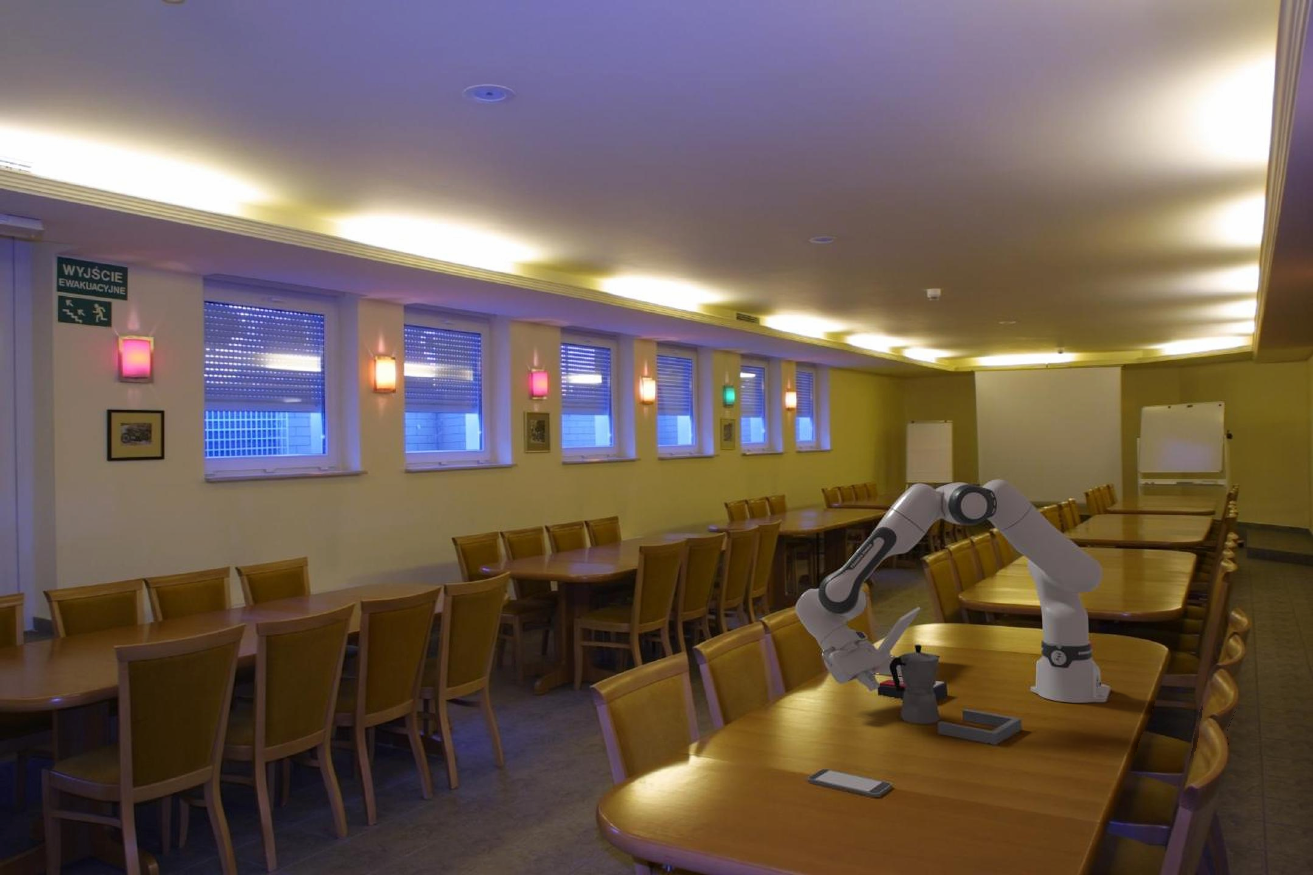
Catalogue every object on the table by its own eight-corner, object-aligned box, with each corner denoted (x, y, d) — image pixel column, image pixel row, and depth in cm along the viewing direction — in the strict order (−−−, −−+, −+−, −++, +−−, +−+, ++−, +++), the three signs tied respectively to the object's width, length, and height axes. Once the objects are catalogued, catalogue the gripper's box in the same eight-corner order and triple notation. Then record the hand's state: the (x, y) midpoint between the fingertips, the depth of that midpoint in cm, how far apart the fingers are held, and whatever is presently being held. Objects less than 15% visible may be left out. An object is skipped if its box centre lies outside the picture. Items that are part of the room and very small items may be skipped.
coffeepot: (927, 710, 227) (925, 638, 228) (954, 719, 219) (952, 645, 219) (878, 719, 220) (876, 645, 221) (905, 729, 212) (903, 652, 212)
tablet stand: (928, 661, 284) (927, 606, 284) (909, 678, 262) (908, 619, 262) (872, 656, 292) (870, 603, 293) (848, 672, 271) (847, 615, 271)
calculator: (895, 674, 252) (947, 680, 241) (896, 690, 251) (948, 696, 241) (876, 682, 243) (928, 688, 233) (877, 698, 243) (929, 704, 233)
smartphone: (877, 794, 169) (806, 778, 178) (877, 800, 169) (806, 783, 178) (893, 783, 175) (823, 768, 184) (893, 788, 175) (823, 773, 184)
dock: (965, 719, 219) (965, 708, 219) (1021, 729, 210) (1021, 718, 210) (938, 733, 208) (937, 722, 208) (996, 745, 199) (995, 733, 199)
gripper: (826, 643, 225) (862, 689, 218) (867, 631, 240) (902, 673, 233) (811, 659, 228) (846, 704, 221) (853, 646, 243) (887, 688, 236)
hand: (875, 688), depth 227 cm, fingers closed
